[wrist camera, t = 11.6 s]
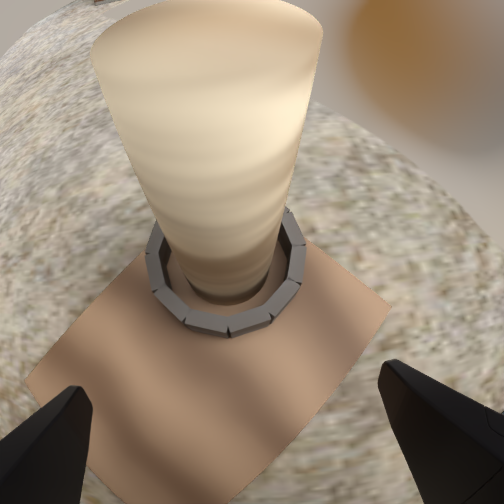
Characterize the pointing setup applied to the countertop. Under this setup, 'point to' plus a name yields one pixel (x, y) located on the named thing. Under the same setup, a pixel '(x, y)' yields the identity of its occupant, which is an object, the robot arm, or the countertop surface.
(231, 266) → the stool leg
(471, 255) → the countertop surface
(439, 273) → the countertop surface
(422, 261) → the countertop surface
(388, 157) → the countertop surface
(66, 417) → the robot arm
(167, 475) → the stool seat
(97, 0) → the display case
